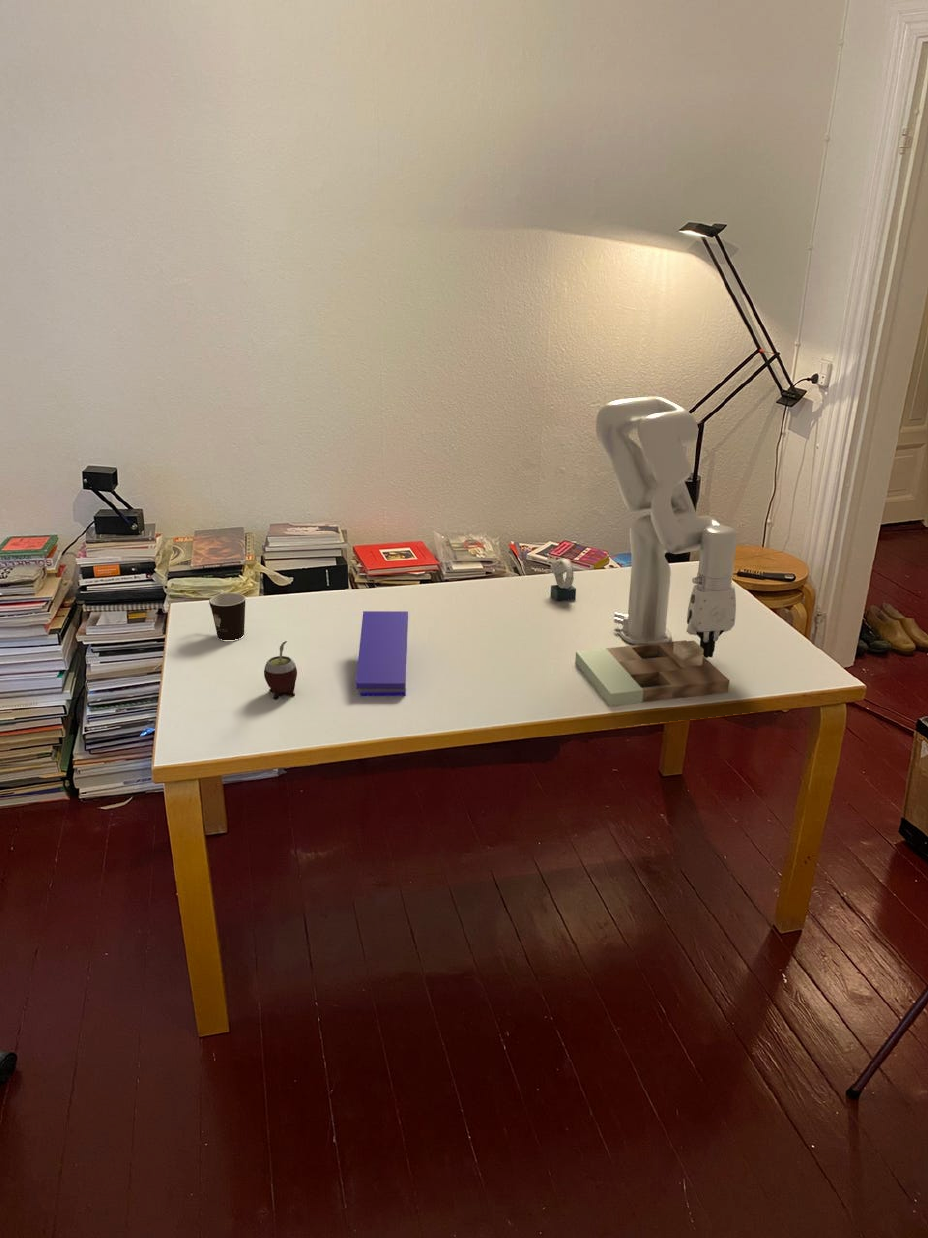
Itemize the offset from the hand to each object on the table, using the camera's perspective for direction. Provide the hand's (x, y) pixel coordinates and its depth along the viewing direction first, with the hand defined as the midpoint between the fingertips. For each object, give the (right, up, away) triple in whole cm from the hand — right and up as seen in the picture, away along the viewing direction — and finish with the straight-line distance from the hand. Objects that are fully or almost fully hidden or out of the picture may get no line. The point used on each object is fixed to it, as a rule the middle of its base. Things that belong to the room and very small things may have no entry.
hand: (706, 655), depth 230 cm
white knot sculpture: (-29, +14, +43) cm, 54 cm away
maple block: (-5, -2, -1) cm, 5 cm away
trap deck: (-10, -5, 0) cm, 11 cm away
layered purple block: (-74, -4, +2) cm, 75 cm away
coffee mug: (-114, +4, +19) cm, 116 cm away
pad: (-23, -6, -4) cm, 24 cm away
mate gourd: (-96, -8, -10) cm, 96 cm away
